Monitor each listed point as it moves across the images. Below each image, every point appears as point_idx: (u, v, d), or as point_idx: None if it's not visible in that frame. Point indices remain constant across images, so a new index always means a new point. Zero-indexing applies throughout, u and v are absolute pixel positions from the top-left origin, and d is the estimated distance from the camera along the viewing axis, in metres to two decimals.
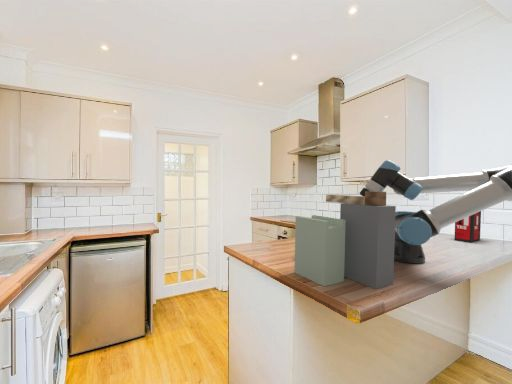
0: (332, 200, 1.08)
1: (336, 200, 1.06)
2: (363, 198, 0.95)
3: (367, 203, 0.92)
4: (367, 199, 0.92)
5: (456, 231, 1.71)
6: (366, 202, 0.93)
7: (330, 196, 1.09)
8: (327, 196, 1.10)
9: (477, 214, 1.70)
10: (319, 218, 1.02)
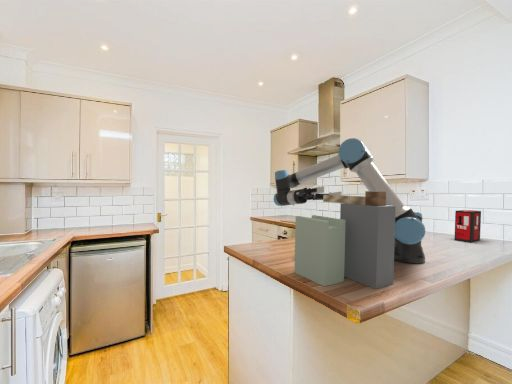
0: (330, 200, 1.07)
1: (334, 200, 1.05)
2: (363, 198, 0.95)
3: (367, 203, 0.93)
4: (367, 199, 0.93)
5: (456, 231, 1.71)
6: (366, 202, 0.93)
7: (328, 196, 1.08)
8: (325, 196, 1.09)
9: (477, 214, 1.70)
10: (319, 218, 1.02)
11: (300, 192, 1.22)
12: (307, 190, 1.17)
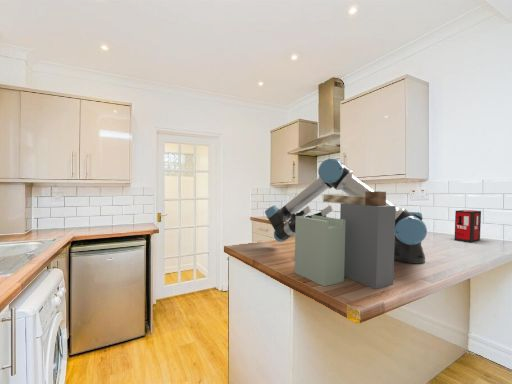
0: (330, 200, 1.07)
1: (334, 200, 1.05)
2: (363, 198, 0.95)
3: (367, 203, 0.93)
4: (367, 199, 0.93)
5: (456, 231, 1.71)
6: (366, 202, 0.93)
7: (328, 196, 1.08)
8: (325, 196, 1.09)
9: (477, 214, 1.70)
10: (319, 218, 1.02)
11: (291, 220, 1.21)
12: (295, 215, 1.16)
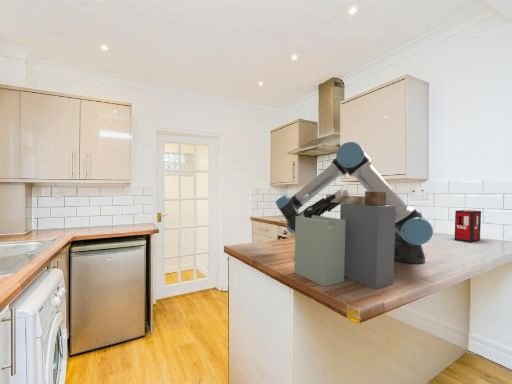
0: None
1: (336, 200, 1.06)
2: (363, 198, 0.95)
3: (367, 203, 0.92)
4: (367, 199, 0.92)
5: (456, 231, 1.71)
6: (366, 202, 0.93)
7: None
8: (327, 196, 1.10)
9: (477, 214, 1.70)
10: (319, 218, 1.02)
11: (315, 206, 1.11)
12: (325, 200, 1.07)
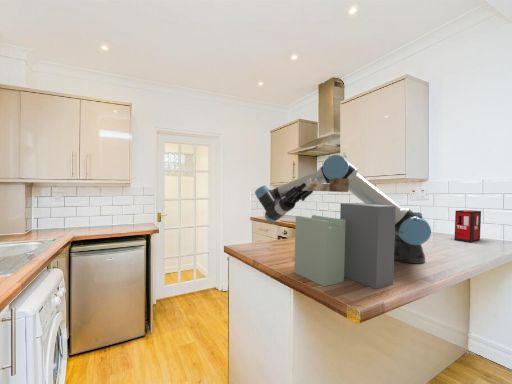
0: None
1: None
2: (328, 185, 1.01)
3: (331, 189, 0.99)
4: (331, 186, 0.99)
5: (456, 231, 1.71)
6: (330, 189, 0.99)
7: None
8: (299, 185, 1.16)
9: (477, 214, 1.70)
10: (319, 218, 1.02)
11: (287, 194, 1.17)
12: (296, 188, 1.13)
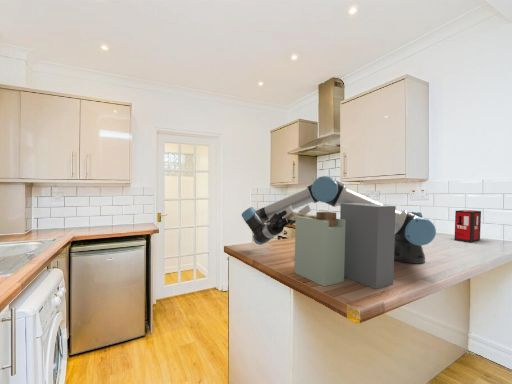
0: (290, 218, 1.09)
1: (293, 218, 1.08)
2: (315, 218, 0.97)
3: None
4: None
5: (456, 231, 1.71)
6: None
7: None
8: None
9: (477, 214, 1.70)
10: None
11: (271, 221, 1.12)
12: (277, 215, 1.08)
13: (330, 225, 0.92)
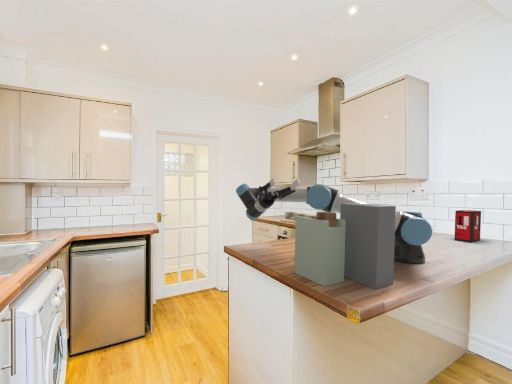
0: (290, 218, 1.09)
1: (293, 218, 1.08)
2: (315, 218, 0.97)
3: None
4: None
5: (456, 231, 1.71)
6: None
7: (288, 214, 1.10)
8: (286, 213, 1.12)
9: (477, 214, 1.70)
10: None
11: (259, 194, 1.19)
12: (262, 188, 1.15)
13: (330, 225, 0.92)
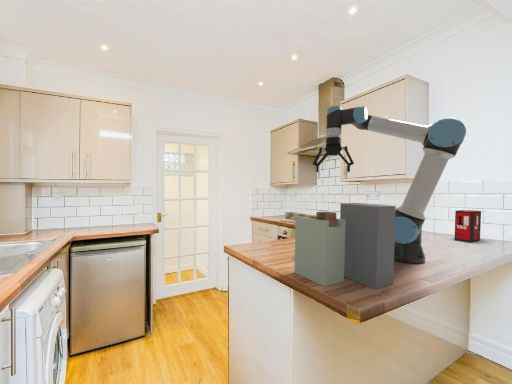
0: (290, 218, 1.09)
1: (293, 218, 1.08)
2: (315, 218, 0.97)
3: None
4: None
5: (456, 231, 1.71)
6: None
7: (288, 214, 1.10)
8: (286, 213, 1.12)
9: (477, 214, 1.70)
10: None
11: None
12: (351, 164, 1.29)
13: (330, 225, 0.92)
